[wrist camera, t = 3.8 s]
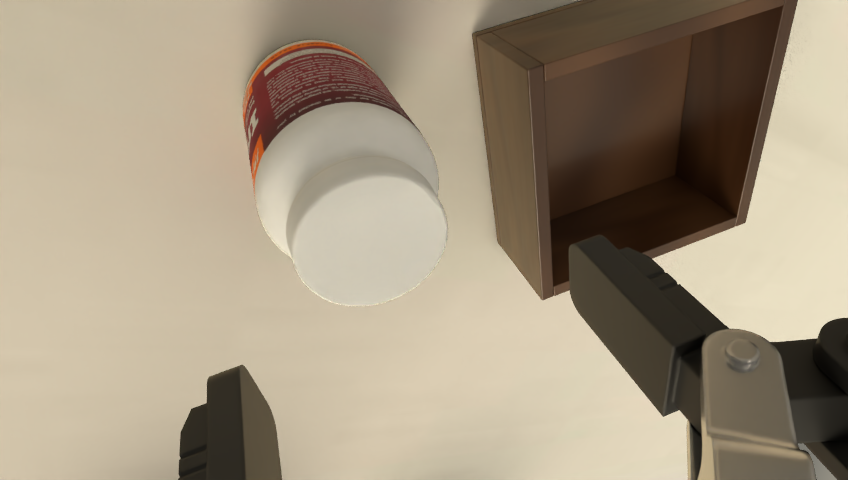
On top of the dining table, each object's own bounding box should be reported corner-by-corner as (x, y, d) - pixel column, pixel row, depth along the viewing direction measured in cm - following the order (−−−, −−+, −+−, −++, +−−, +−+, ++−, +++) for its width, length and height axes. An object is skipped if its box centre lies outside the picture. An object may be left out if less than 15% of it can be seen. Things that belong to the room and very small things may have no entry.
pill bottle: (212, 70, 22) (217, 206, 14) (352, 12, 23) (441, 107, 14) (281, 190, 26) (318, 354, 17) (398, 138, 26) (491, 273, 18)
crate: (497, 242, 32) (542, 301, 28) (471, 33, 25) (527, 69, 20) (677, 177, 34) (745, 223, 30) (706, -37, 26) (802, -17, 22)
